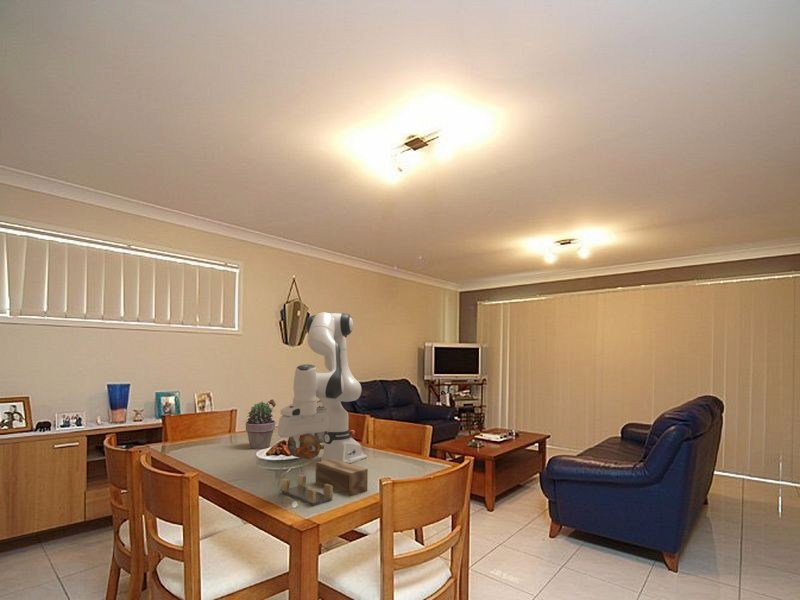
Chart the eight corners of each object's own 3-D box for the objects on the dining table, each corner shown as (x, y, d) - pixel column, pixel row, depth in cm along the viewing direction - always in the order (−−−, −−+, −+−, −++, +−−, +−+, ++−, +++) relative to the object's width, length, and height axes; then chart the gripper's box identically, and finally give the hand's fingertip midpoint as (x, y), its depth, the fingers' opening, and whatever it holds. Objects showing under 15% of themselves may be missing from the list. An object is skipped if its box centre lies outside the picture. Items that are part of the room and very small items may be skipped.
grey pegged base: (300, 487, 173) (300, 474, 174) (332, 500, 160) (332, 485, 160) (281, 492, 167) (281, 479, 168) (312, 506, 153) (313, 491, 154)
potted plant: (232, 447, 240) (234, 400, 243) (264, 442, 255) (265, 397, 258) (251, 453, 229) (252, 403, 231) (283, 446, 243) (284, 399, 246)
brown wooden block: (331, 478, 185) (331, 458, 186) (367, 490, 170) (367, 468, 171) (314, 483, 179) (315, 462, 180) (350, 495, 164) (350, 473, 165)
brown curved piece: (287, 455, 169) (286, 432, 170) (293, 452, 172) (292, 430, 172) (315, 461, 161) (314, 437, 161) (322, 458, 163) (320, 435, 164)
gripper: (322, 405, 177) (321, 441, 176) (276, 410, 163) (275, 449, 161) (332, 407, 173) (331, 443, 172) (285, 412, 158) (284, 452, 157)
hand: (303, 446), depth 166 cm, fingers closed on brown curved piece, 3 cm apart
